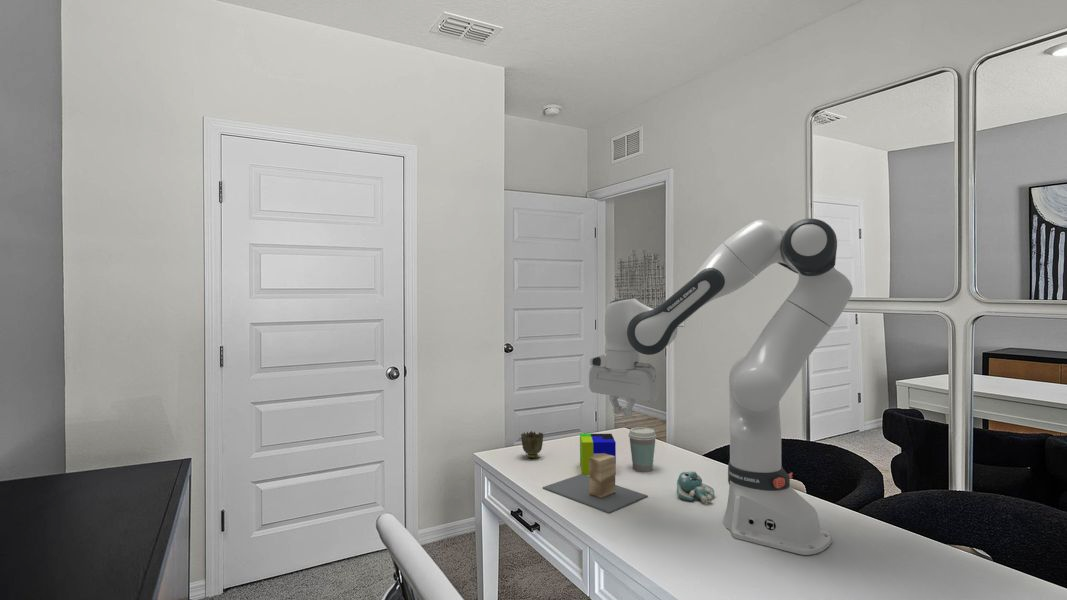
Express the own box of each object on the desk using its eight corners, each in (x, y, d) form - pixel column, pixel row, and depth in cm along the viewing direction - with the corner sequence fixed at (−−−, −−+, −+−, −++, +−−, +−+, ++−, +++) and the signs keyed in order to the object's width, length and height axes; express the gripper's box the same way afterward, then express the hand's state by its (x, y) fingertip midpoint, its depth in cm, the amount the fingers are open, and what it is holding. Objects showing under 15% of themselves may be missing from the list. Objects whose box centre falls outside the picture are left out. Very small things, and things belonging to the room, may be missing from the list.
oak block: (615, 493, 147) (615, 456, 146) (600, 499, 142) (600, 461, 142) (604, 489, 149) (603, 453, 149) (589, 494, 145) (589, 457, 145)
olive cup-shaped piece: (547, 456, 181) (547, 432, 181) (536, 462, 175) (535, 437, 175) (529, 453, 185) (528, 430, 185) (517, 459, 179) (516, 434, 179)
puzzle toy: (615, 475, 162) (615, 442, 162) (582, 475, 162) (582, 442, 162) (611, 465, 172) (611, 433, 172) (580, 465, 172) (579, 433, 172)
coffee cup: (655, 464, 172) (654, 427, 172) (658, 473, 163) (658, 434, 163) (627, 464, 173) (627, 426, 172) (629, 473, 164) (629, 433, 164)
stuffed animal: (692, 487, 137) (667, 464, 148) (689, 513, 138) (664, 488, 149) (728, 483, 140) (701, 460, 151) (725, 508, 141) (698, 484, 152)
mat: (647, 496, 145) (648, 495, 145) (609, 513, 134) (609, 512, 134) (581, 475, 162) (581, 473, 162) (542, 488, 152) (542, 487, 152)
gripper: (663, 363, 135) (663, 418, 135) (600, 356, 150) (600, 406, 150) (648, 365, 131) (648, 422, 131) (585, 358, 146) (585, 409, 146)
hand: (622, 414), depth 141 cm, fingers closed
